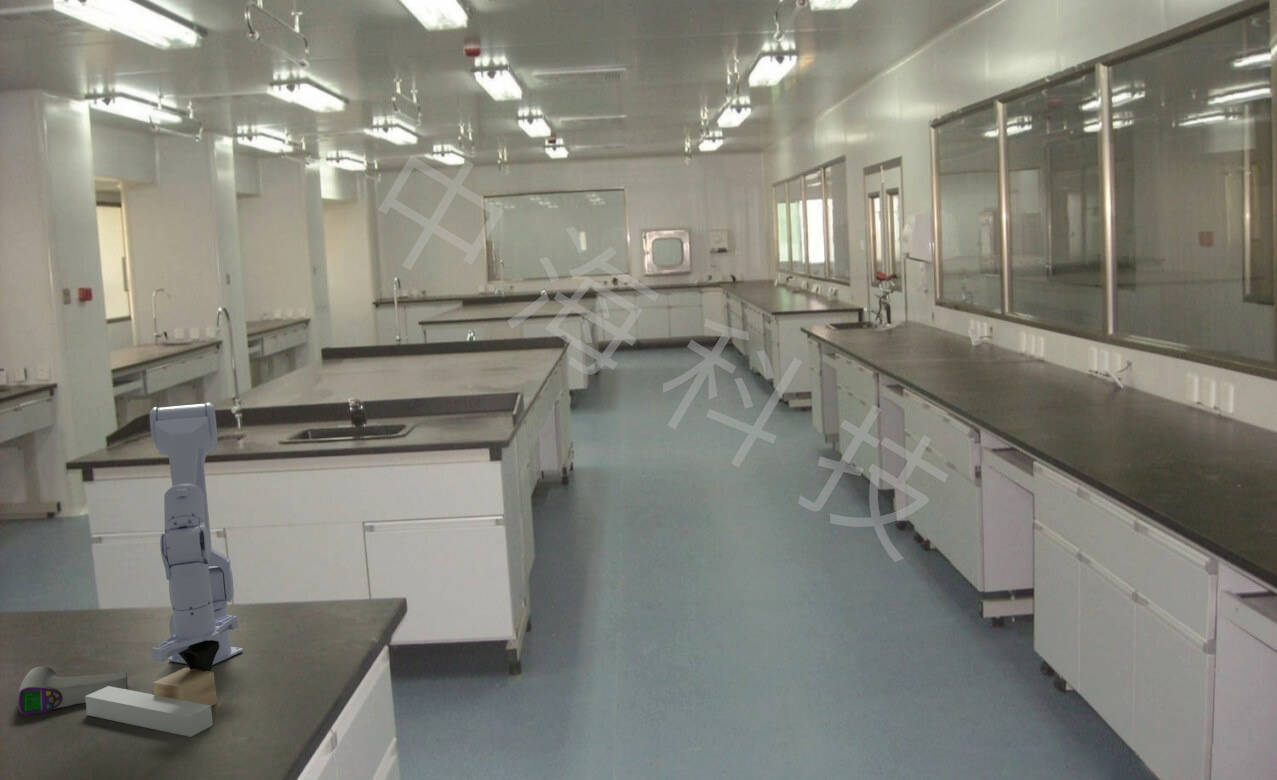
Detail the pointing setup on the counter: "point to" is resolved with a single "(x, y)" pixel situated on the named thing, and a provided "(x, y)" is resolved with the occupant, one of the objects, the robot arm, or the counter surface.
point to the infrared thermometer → (61, 689)
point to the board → (149, 711)
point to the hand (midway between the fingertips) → (202, 688)
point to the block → (188, 686)
